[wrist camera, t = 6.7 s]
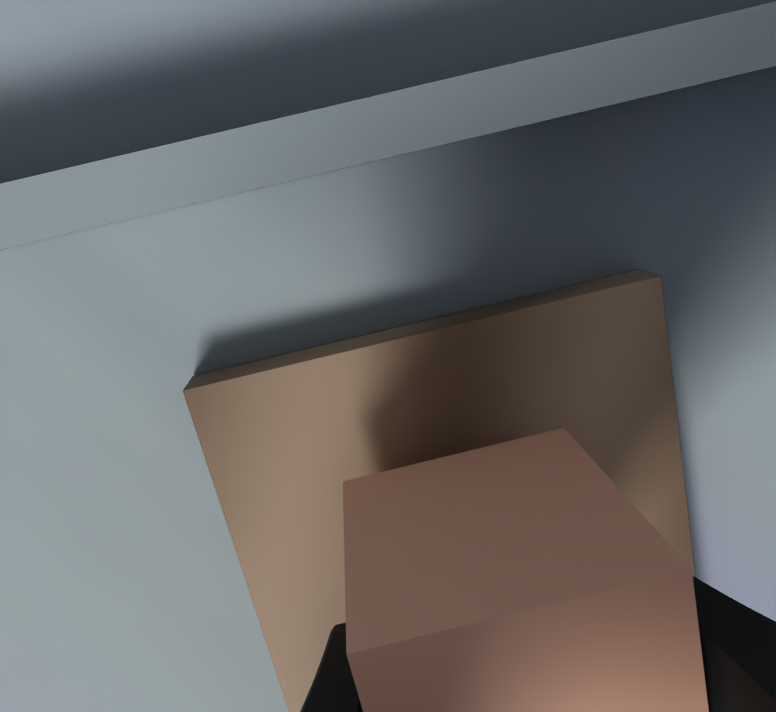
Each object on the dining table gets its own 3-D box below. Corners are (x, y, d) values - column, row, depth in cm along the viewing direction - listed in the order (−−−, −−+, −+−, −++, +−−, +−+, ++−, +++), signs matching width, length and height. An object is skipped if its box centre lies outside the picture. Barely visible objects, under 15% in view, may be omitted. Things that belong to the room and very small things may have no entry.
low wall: (901, -18, 14) (1022, -57, 11) (902, 35, 14) (1020, 8, 12) (-74, 212, 13) (-162, 222, 11) (-53, 261, 14) (-137, 281, 11)
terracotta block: (564, 427, 13) (691, 569, 9) (596, 617, 15) (724, 835, 10) (342, 481, 13) (346, 654, 9) (393, 667, 15) (420, 910, 10)
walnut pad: (639, 268, 15) (660, 276, 14) (685, 644, 18) (705, 671, 17) (193, 376, 15) (182, 390, 14) (309, 736, 17) (308, 769, 17)
